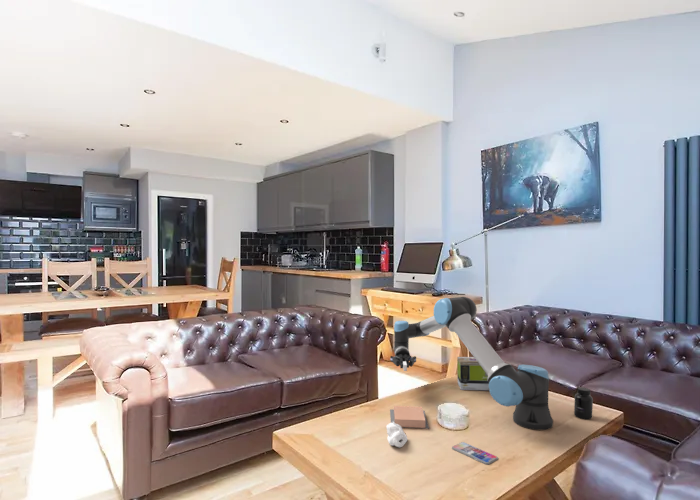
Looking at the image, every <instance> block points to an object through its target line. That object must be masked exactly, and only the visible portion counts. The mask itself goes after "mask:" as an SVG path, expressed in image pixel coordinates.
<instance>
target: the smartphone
mask: <svg viewBox="0 0 700 500" xmlns="http://www.w3.org/2000/svg"><path fill="white" fill-rule="evenodd" d="M451 449H452V451H455V452H458V453H460V454H462V455H463V456H466V457H467V458H468V457H469V458H471V459H472V460H475V461H477V462H478V463H481V464H482V465H486V466H488V465H491V464H493V463H494V462H496V461H498V460H499V457H498V456H497V455H495V454H492V453H490V452H487V451H485V450H482V449H481V448H479V447H476V446H473V445H472V444H469V443H467V442H465V441H461V442H459V443H457V444H455V445H452V446H451Z"/></svg>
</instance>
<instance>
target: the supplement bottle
mask: <svg viewBox="0 0 700 500" xmlns="http://www.w3.org/2000/svg"><path fill="white" fill-rule="evenodd" d="M593 402H594V399H593V397H592V396H591V389H590V388H587V387H583V386H578V387H577V391H576V393H575V395H574V404H573V405H574V408H573V413H574V416H575V417H576V418H578V419H581V420H585V421H586V420H591V419H592V418H593V408H594V407H593V406H594V405H593V404H594V403H593Z"/></svg>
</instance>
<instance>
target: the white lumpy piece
mask: <svg viewBox="0 0 700 500" xmlns="http://www.w3.org/2000/svg"><path fill="white" fill-rule="evenodd" d="M385 426H386V434H387V442H388V445H390V446H394V447H396V448H402V447H404V446H405V444H406V443H407V442H408V436H407V434H406V433H405V431H404V428H402V427H401V426H400V425H398V424H396V423H395V422H393V423H391V422H390V423H387V425H385Z"/></svg>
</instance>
